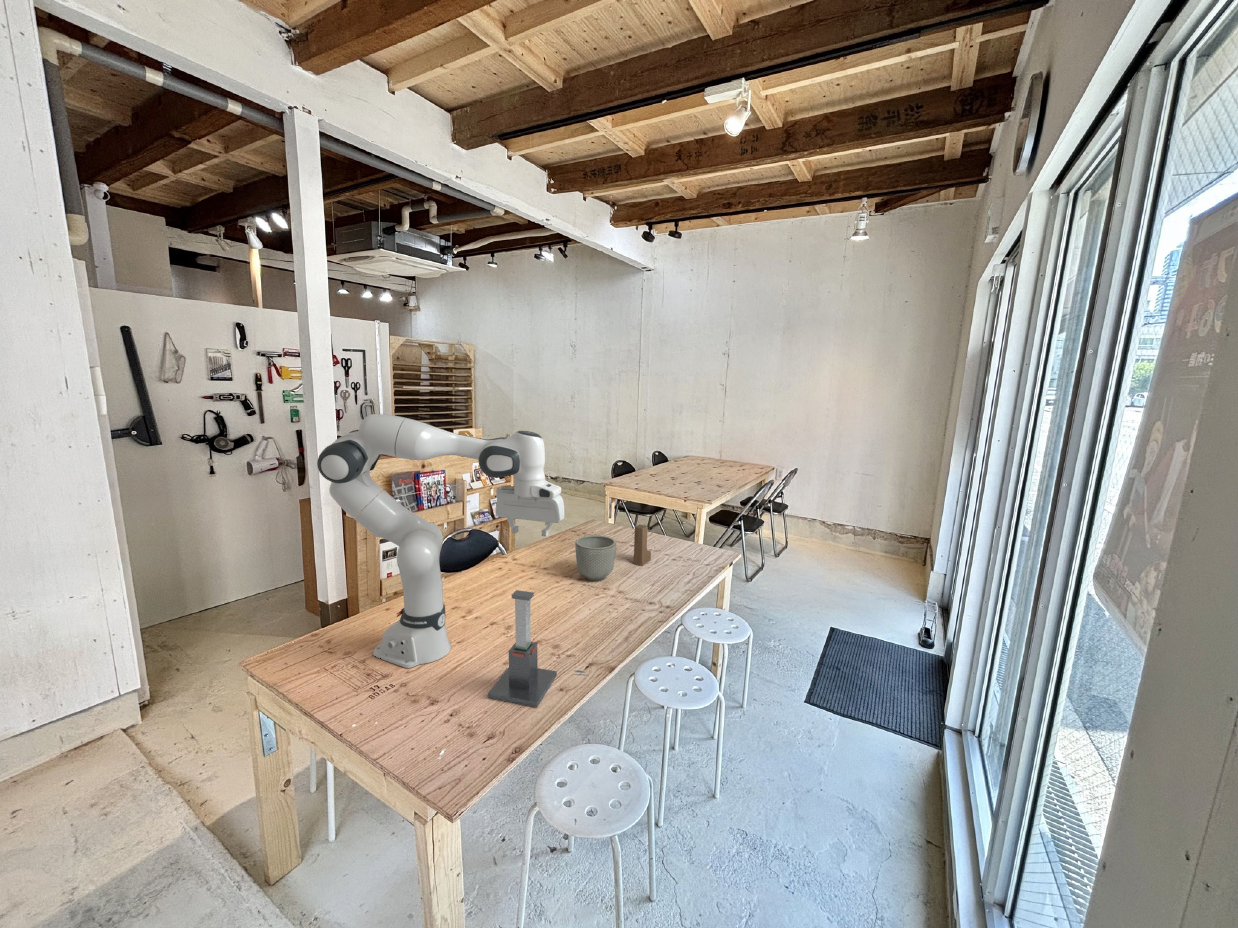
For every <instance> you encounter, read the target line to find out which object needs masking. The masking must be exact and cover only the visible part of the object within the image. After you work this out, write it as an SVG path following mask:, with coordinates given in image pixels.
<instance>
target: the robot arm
mask: <svg viewBox="0 0 1238 928" xmlns="http://www.w3.org/2000/svg"><path fill="white" fill-rule="evenodd" d="M381 455H386V456H390V457H394V458H397V459H398V458H399V459H403V460H410V461H411V460H412V461H426V460H430V459H433V458H437V457H443V456H458V457H461V458H467V459H473V460H478V466H479V469H480V470H481V472H482V473H483V474H484V475H486V476H487V477H490V478H493V479H494V478H495V479H497V478H498V479H499V478H505V477H508V476H513V486H512V485H510V486H509V485H500V486H498V487H497V488H496V491H495V495H496V503H495V515H496V516H497V518H501V519H502V518H505V519H507V520H506V521H507V523H508V525H509V527H510V531H511V533H512V534H517V533H519V525H516V523H515V520H523V521H533V522H543V523H544V525H545V528H543V529H541V536H542V537H548V536H549V534H550V533H549V530H550V528H551V527H552V524H560V523H561V522H562V521H563V520H564V519H565V504H564V499H563V496H562V495H561V494H562V487H561V486H560V485H557V484H554V483H552V482H549V481H547V480H546V475H545V466H546V449H545V442H544V439H543V436H541V435H540V434H539V433H536V432H533V431H529V430H518V431H516V432H515V433H513V434H512V435H509V436H508V437H502V436H501V437H496V438H489V439H488V438H487V439H484V438H481V437H480V438H478V437H473V436H469V435H464V434H459V433H455V432H450V431H447V430H445V429H442V428H439V427H436V426H433V425H431V424H428V423H425V422H422V421H420V420H416V419H412V418H409V417H408V418H407V417H403V416H399V415H398V416H397V415H391V414H381V413H375V414H374V413H372V414H368V415H367V416H365V417H364V418H363V419H362V421H361V422H360V424H359V427H358V429H354V430H352V431H350V432H348V433H346V434H343V435H342V436H340V437H338V438H337V439H335V440H334V442H332V443H330V444H329V445H328V446H325V448H324V449H323V450H322V451H321V453H320V454H319V455H318V457H317V463H316V465H317V470H318V472H319V474H320V475H321V476H322V477H323V478H324V479H325V480H326V481H329V482H331V484H330V486H329V492H328V493H329V495H330V496H331V498H332V499H333V500H334V501H335V502H336V503H337V505H338V506H340V508H341V509H342V510H343V511H344V512H345V513H346V514H347V515H348V516H350V517H351V518H352V519H353V520H354V521H356V522H357V523H359V525H361V526H362V527H363V528H364V529H365V530H367V531H368V532H369V533H371V534H372V535H373V536H375V537H377V538H381V539H385V540H387V541H389V542H390V543H392V544H395V545H396V546H398V549H397V552H396V565H397V567H398V570H399V571H398V572H399V576H400V579H401V584H402V591H403V592H402V593H403V607H402V608H401V610H400V611H398V612H397V613H396V617H397V618H399V616H400V619H398V620H397V621H396V622H395V623H393V624H392V625H390V626H389V627H388V628H387V629H386V630H385V631H384V633H383V635H382V636H381V641H380V643H379V644H378V645H377V646H376V647H375V648H374V650H373V655H372V656H373V657H375V656H376V657H375V658H377V659H380V658H381V660H383V661H386V662H389V663H391V664H393V665H394V664H395V665H397V666H399V667H403V668H406V669H411V668H413V667H416V666H419V665H425V664H428V663H432V662H436V661H438V660H441V659H442V658H444V657H446V655H448V653H449V652H451V649H452V645H451V643H450V640H449V637H448V633H447V628H446V605H445V603H444V587H443V586H444V585H443V579H442V573H441V567H440V556H441V554H440V553H441V551H442V547H443V544H444V536H443V532H442V530H441V529H440V527H439V526H438V525H437V524H436V523H433V522H430V521H428V520H426V519H425V518H423V517H421V516H420V515H418V514H416V513H414V512H413V511H411V510H409V509H408V508H406V507H405V506H404V505H402V504H401V503H400V502H399V501H397V500H396V499H395V498H394V497H393V496H392V495H390V494H389V493H388V492H387V491H386V490H385V489H384V488H382V487H381V486H380V485H379V484H378V483H376V482H375V481H374V480H373V479H372V477H371V475H370V472H372V471H373V470H375V467H376V466H377V463H378V462H379V459H380V457H381Z"/></svg>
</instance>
